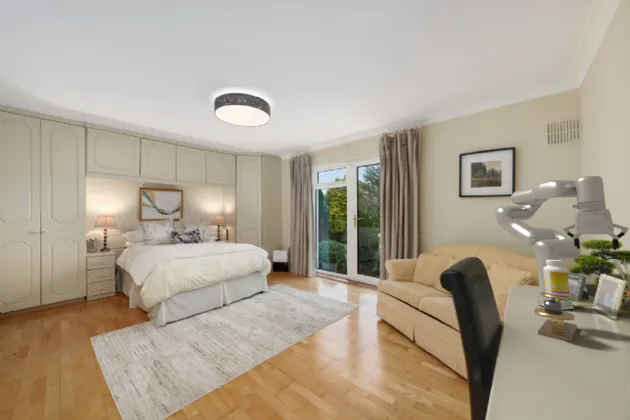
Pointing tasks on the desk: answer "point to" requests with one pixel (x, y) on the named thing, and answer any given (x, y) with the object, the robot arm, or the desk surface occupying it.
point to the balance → (556, 318)
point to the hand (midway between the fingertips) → (596, 249)
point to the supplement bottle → (556, 278)
